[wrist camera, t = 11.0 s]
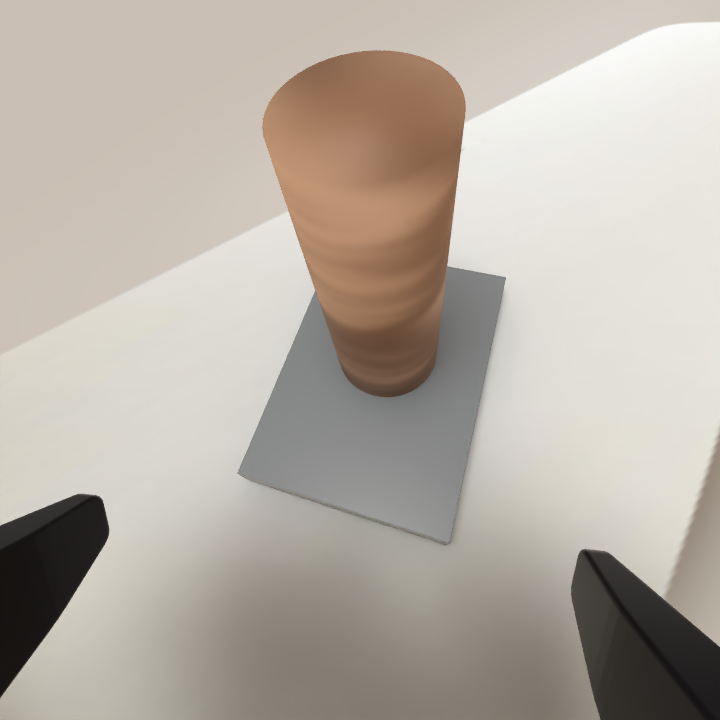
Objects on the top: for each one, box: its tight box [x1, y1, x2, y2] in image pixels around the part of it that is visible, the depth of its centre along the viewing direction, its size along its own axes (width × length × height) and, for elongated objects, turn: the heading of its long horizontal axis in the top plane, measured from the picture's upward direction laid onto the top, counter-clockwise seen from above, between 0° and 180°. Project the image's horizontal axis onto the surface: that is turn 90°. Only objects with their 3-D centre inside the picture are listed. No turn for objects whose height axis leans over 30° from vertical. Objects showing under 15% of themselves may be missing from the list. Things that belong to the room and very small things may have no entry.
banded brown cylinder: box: [263, 51, 466, 397], centre depth 16 cm, size 5×5×13 cm
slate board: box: [237, 267, 506, 545], centre depth 23 cm, size 14×10×2 cm
